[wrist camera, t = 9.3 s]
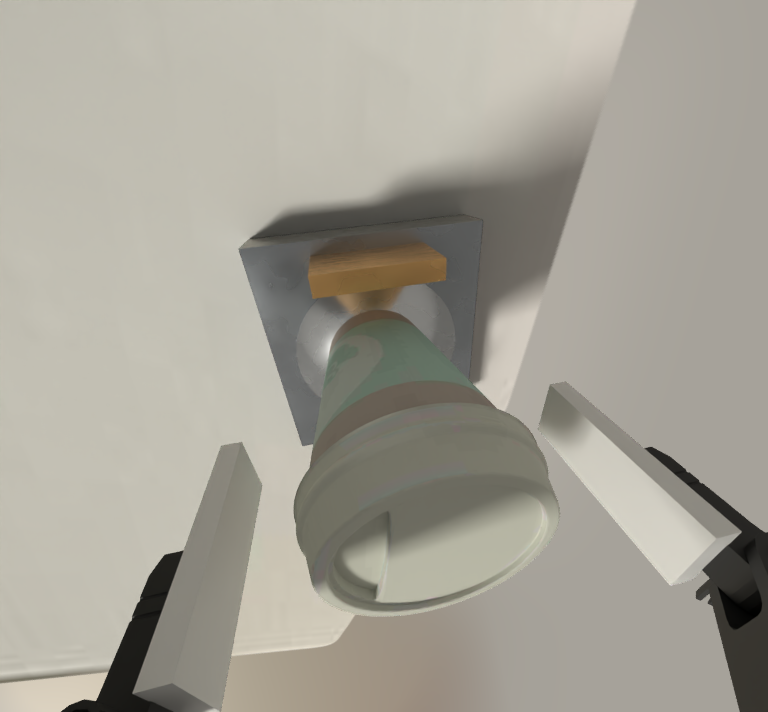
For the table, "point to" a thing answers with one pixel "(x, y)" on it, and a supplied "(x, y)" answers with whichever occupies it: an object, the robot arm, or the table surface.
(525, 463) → the coffee cup
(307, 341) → the block
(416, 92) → the table surface
